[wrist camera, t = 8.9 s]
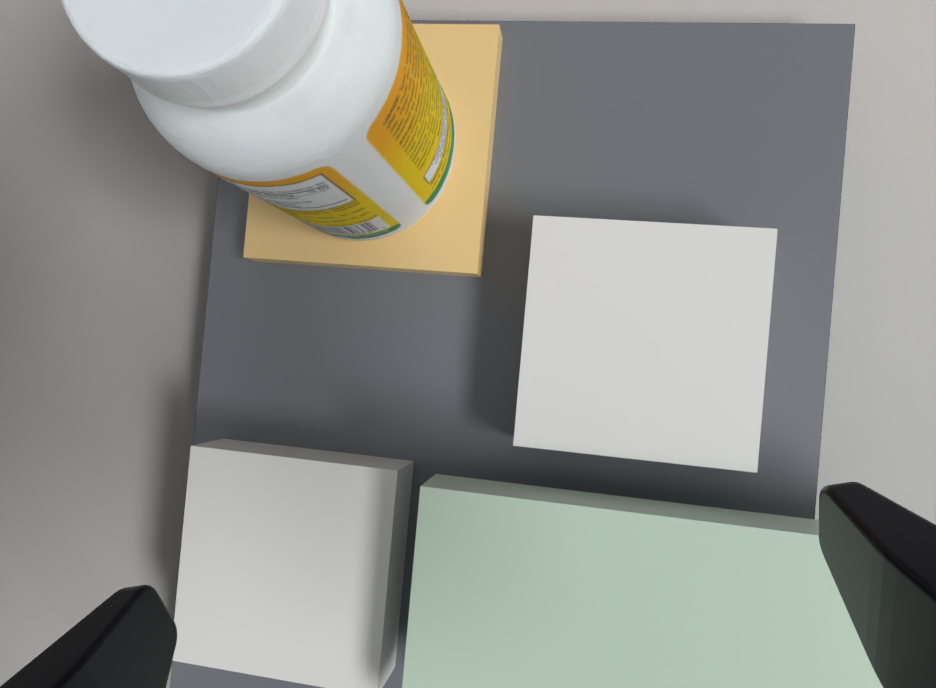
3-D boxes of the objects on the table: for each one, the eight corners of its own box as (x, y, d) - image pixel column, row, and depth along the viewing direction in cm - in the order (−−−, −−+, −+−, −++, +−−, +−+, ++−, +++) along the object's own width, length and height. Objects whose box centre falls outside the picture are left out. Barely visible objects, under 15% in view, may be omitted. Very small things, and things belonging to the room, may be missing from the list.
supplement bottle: (347, 280, 19) (125, 201, 10) (247, 136, 20) (-53, -70, 10) (499, 164, 19) (419, -40, 9) (390, 19, 19) (210, -314, 10)
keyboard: (776, 782, 19) (813, 860, 16) (191, 676, 22) (131, 725, 19) (838, 45, 19) (885, -13, 16) (252, 37, 22) (201, -13, 19)
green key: (884, 757, 17) (950, 840, 14) (425, 678, 19) (397, 737, 16) (904, 521, 17) (972, 555, 14) (444, 466, 19) (420, 486, 16)
